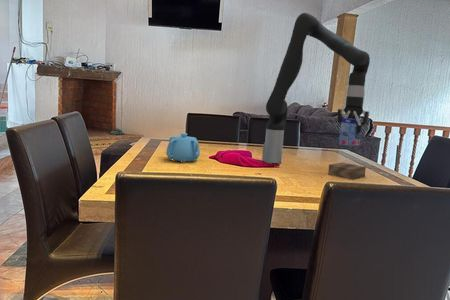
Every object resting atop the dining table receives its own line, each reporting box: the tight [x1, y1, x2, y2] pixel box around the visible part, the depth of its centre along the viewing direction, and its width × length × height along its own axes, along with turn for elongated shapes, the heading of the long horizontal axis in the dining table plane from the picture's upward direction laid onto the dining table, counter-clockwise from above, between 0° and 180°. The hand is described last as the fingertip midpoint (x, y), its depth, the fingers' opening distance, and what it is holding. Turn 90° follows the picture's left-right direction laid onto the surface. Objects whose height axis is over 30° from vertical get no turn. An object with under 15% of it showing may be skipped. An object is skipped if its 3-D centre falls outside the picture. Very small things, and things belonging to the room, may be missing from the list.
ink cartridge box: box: [338, 114, 364, 147], centre depth 177 cm, size 10×6×14 cm, turn 130°
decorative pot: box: [165, 132, 201, 162], centre depth 190 cm, size 16×16×14 cm
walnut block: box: [327, 162, 367, 181], centre depth 179 cm, size 12×12×5 cm
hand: (350, 132), depth 177 cm, fingers closed on ink cartridge box, 6 cm apart
